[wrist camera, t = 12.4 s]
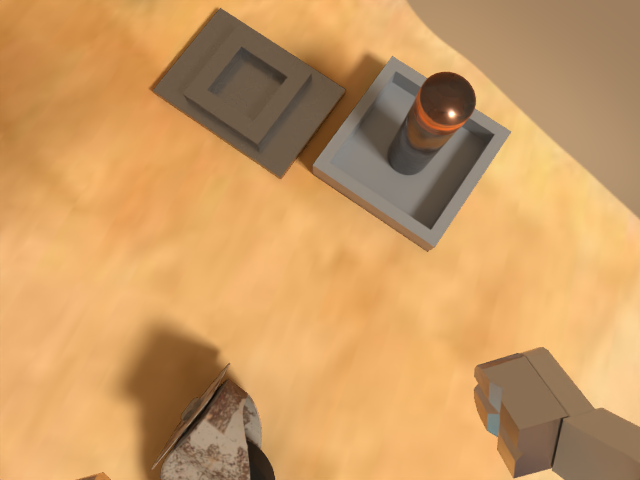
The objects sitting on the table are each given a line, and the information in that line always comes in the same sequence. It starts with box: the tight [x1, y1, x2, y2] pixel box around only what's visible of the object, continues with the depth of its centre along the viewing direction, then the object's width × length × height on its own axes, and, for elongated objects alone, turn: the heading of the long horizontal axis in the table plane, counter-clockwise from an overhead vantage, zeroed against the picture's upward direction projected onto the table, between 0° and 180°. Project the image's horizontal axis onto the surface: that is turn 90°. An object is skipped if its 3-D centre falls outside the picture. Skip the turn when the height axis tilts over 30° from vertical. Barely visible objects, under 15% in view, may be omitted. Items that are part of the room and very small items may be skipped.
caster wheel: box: [151, 363, 275, 480], centre depth 35 cm, size 7×11×10 cm
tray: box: [313, 56, 511, 252], centre depth 41 cm, size 12×12×2 cm
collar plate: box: [153, 8, 346, 179], centre depth 42 cm, size 14×10×2 cm
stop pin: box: [387, 72, 476, 175], centre depth 36 cm, size 4×4×11 cm
